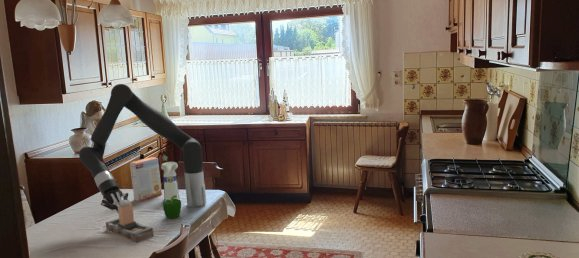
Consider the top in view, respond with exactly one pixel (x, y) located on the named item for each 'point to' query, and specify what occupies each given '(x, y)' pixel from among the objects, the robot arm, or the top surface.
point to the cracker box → (145, 178)
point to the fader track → (130, 231)
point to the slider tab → (126, 215)
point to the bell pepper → (172, 207)
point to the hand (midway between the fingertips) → (123, 214)
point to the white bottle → (170, 179)
